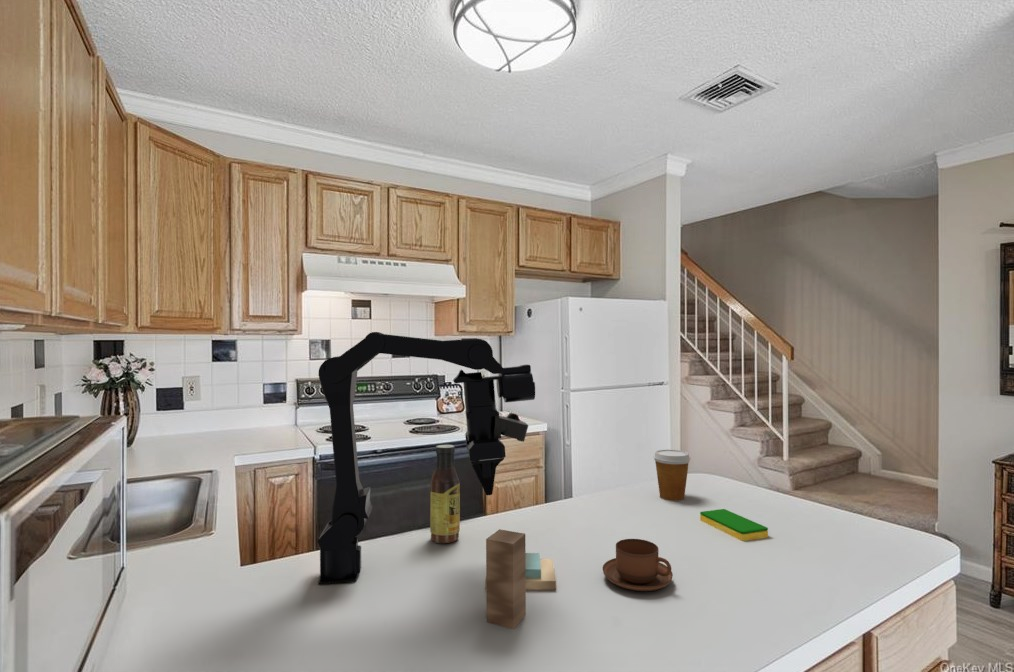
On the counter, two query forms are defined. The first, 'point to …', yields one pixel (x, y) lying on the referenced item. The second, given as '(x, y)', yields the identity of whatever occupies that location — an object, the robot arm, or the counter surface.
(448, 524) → the sauce bottle
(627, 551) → the cup and saucer
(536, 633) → the counter surface
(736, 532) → the dish sponge
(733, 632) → the counter surface
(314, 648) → the counter surface
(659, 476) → the disposable coffee cup
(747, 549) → the counter surface
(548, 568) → the plinth
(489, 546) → the pillar
